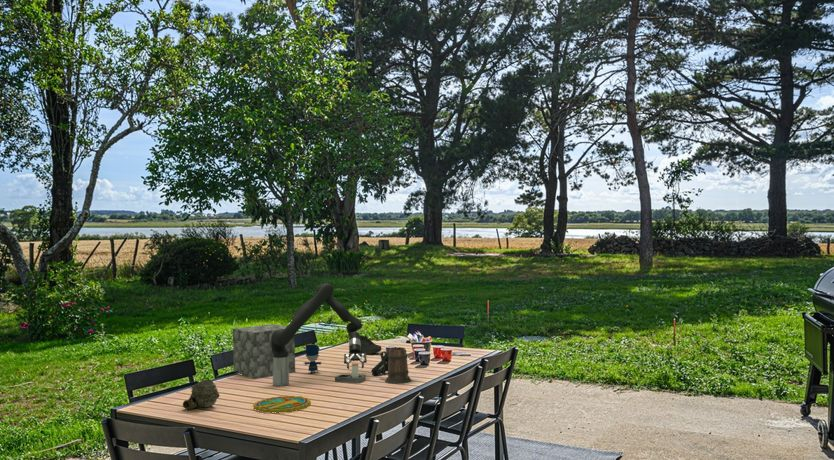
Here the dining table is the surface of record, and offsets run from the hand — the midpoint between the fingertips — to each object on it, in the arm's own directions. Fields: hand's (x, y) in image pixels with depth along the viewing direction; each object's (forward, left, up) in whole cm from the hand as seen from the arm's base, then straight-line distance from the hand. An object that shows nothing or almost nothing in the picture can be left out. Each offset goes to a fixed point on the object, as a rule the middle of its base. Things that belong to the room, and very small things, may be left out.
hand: (355, 368), depth 411 cm
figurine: (+12, +39, -8) cm, 42 cm away
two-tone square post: (-2, -1, -8) cm, 8 cm away
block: (+5, +73, -8) cm, 74 cm away
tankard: (+8, -23, -8) cm, 25 cm away
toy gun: (+26, -10, -8) cm, 29 cm away
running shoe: (+90, +42, -8) cm, 99 cm away
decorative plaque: (-67, +7, -8) cm, 68 cm away
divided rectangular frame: (-2, +3, -8) cm, 9 cm away
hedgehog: (-85, +49, -8) cm, 98 cm away
